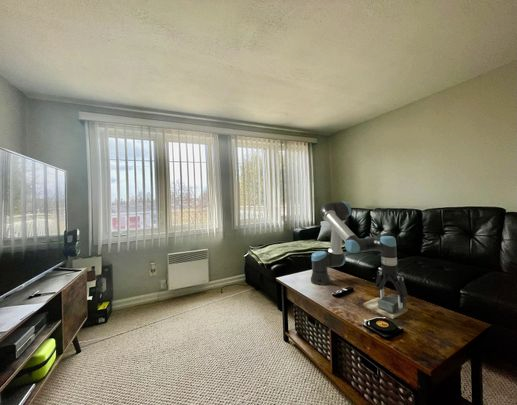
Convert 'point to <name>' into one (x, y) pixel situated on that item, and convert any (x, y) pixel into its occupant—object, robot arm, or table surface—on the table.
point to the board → (374, 306)
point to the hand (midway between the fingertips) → (391, 304)
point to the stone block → (390, 303)
